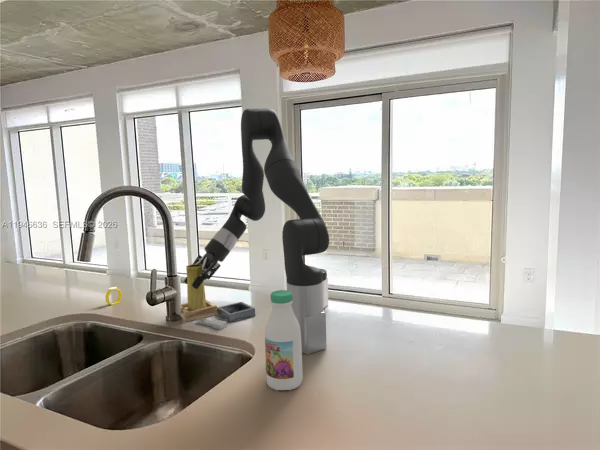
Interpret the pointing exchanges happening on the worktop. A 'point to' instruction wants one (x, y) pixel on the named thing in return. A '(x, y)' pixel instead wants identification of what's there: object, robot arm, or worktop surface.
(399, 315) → the worktop surface
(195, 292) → the vase
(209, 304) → the wooden tray
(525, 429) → the worktop surface
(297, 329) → the milk bottle
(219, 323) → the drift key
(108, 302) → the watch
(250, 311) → the grey square shallow tray
